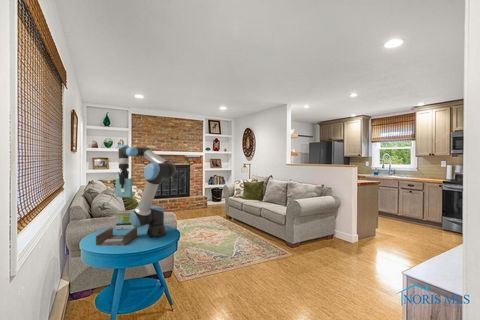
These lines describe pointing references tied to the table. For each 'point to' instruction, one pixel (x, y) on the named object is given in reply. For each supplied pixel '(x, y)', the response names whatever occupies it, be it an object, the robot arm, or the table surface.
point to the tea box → (124, 220)
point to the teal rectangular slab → (127, 188)
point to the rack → (115, 237)
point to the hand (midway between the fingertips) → (124, 191)
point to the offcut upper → (113, 241)
